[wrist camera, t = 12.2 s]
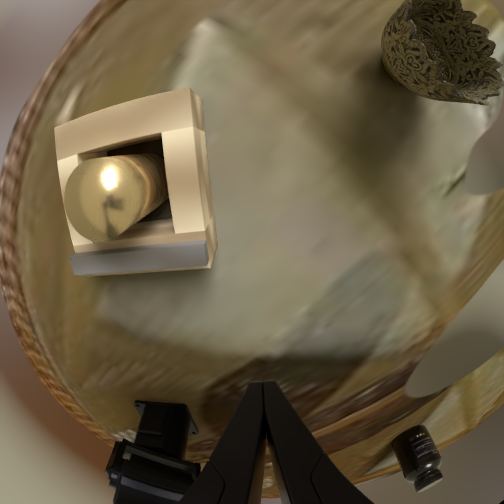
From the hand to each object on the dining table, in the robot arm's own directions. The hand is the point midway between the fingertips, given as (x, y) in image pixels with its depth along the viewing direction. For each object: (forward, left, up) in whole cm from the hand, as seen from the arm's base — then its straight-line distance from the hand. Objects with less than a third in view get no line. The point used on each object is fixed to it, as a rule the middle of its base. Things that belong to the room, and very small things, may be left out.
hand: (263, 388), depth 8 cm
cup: (+14, -12, -12) cm, 22 cm away
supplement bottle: (-36, -24, -12) cm, 45 cm away
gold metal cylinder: (+6, +7, -12) cm, 15 cm away
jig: (+6, +7, -12) cm, 15 cm away
